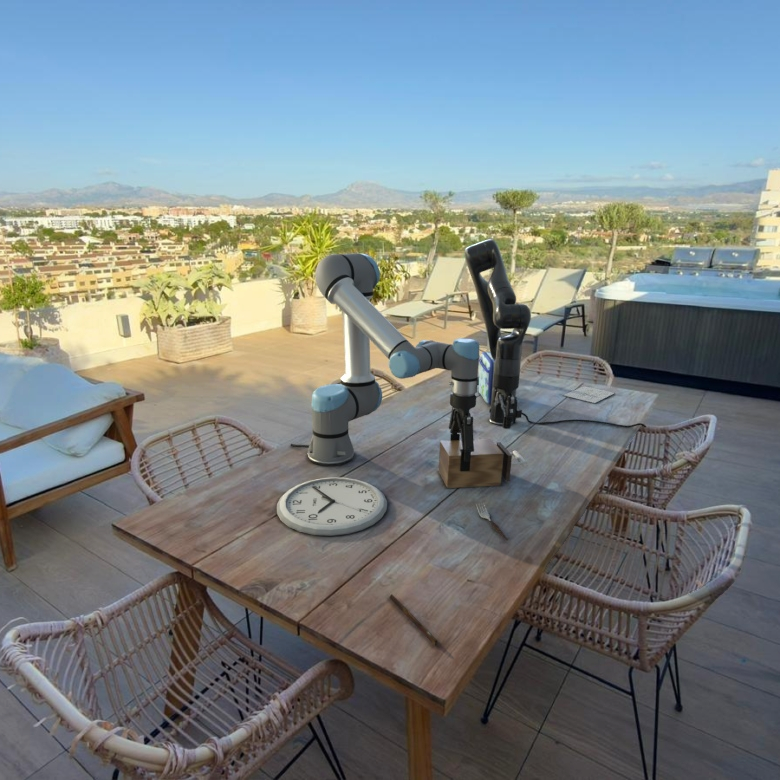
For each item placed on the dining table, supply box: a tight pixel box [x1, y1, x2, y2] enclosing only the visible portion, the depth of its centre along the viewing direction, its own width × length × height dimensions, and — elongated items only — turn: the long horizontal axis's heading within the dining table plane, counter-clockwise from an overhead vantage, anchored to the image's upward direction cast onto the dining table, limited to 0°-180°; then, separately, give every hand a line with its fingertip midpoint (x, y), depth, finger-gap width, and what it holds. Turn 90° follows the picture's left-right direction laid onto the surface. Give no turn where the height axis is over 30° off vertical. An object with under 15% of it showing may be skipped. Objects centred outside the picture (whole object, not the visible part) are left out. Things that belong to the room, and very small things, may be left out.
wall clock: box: [276, 476, 388, 537], centre depth 142 cm, size 30×2×30 cm
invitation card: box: [562, 385, 616, 404], centre depth 242 cm, size 21×1×15 cm
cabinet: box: [438, 438, 503, 489], centre depth 158 cm, size 16×11×10 cm
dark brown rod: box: [389, 593, 438, 646], centre depth 101 cm, size 15×1×1 cm, turn 34°
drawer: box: [496, 441, 528, 482], centre depth 159 cm, size 21×10×8 cm, turn 98°
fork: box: [475, 502, 508, 541], centre depth 134 cm, size 3×16×2 cm, turn 16°
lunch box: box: [477, 351, 495, 406], centre depth 230 cm, size 26×11×21 cm, turn 179°
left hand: (459, 462), depth 157 cm, fingers closed on cabinet, 11 cm apart
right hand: (502, 423), depth 159 cm, fingers open, 8 cm apart
